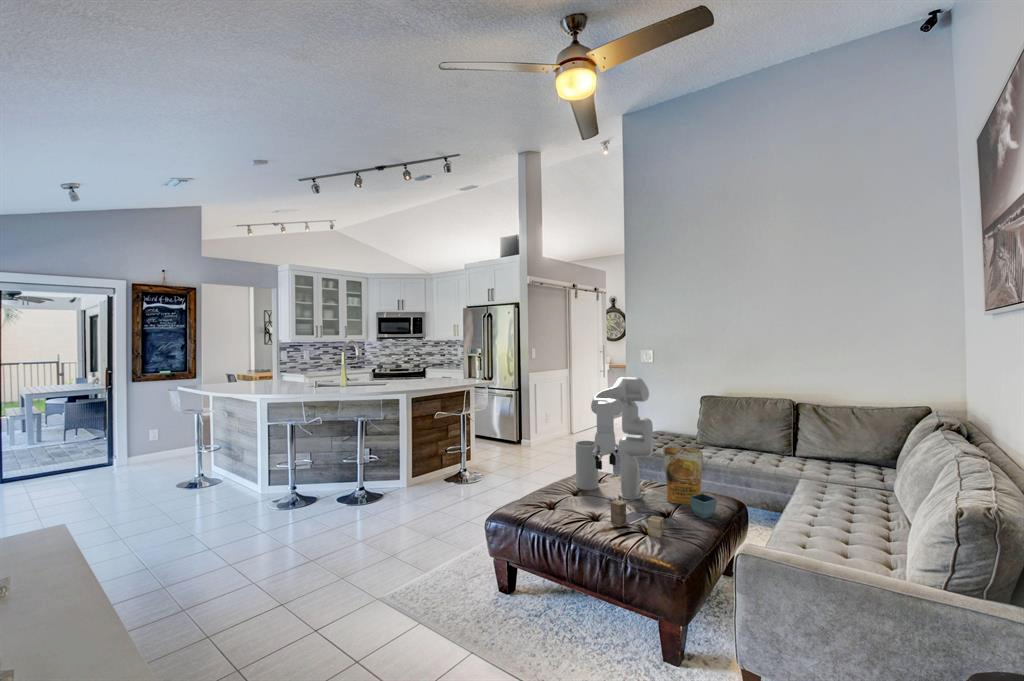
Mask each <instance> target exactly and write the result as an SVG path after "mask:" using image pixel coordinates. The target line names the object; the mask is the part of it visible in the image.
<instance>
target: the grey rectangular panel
mask: <svg viewBox="0 0 1024 681" xmlns="http://www.w3.org/2000/svg"><path fill="white" fill-rule="evenodd" d="M646 518H647V516H646V515H643V514H641V513H637V512H635V511H631V510H630V511H628V512H626V525H627V524H628V525H633V524H635V523H637V522H640V521H641V520H643V519H646Z"/></svg>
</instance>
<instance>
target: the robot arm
mask: <svg viewBox="0 0 1024 681" xmlns="http://www.w3.org/2000/svg"><path fill="white" fill-rule="evenodd" d="M649 396H650V392H649V388H648V386H647V385H646V382H645V381H644V380H643V379H642V378H640V377H633V376H632V377H631V376H621V377H618V378H617V379H616V380H615V381H614V383H613V384H612V386H611V387H610V388H607V389H603V390H601V391H599V392H597V393H596V394H595V395H594V397H592V400H591V403H590V409H591V412H592V413H593V414H596V432H595V435H594V450H593V451H592V455H593V457H594V459H595V460H596V469H598V470H600V471H601V470H603V461H602V458H603V457H604V456H607V455H609V456H608V457H609V461H608V462H609V465H612V466H617V464H616V462H617V461H616V460H617V459H616V457H617V455H618V454H617V453H618V451H619V456H620V490H619V491H618V493H617V495H618V497H619V498H622V499H624V500H629V501H630V500H631V501H634V500H635V501H636V500H640V499H642V497H643V493H642V492H641V490H644V489H645V486H644V485H640V464H639V461H638V459H637V457H640V458H641V457H642V458H649V457H651V456H652V454H653V450H654V448H653V447H654V445H653V442H654V436H653V433H654V432H653V431H654V427H653V422H652V420H651V419H650V418H648V417H642V416H641V417H640V416H639V406H638V404H637V402H640V403H641V402H646V401H648V399H649V398H650V397H649ZM620 414H621V430H622V432H623V434H624V435H625V434H626V435H631V437H630V436H623V437H621V438H620V439H619V440H618V444H617V443H616V435H615V429H614V428H615V426H614V425H615V423H614V419H615V418H614V417H615V416H618V415H620ZM632 436H634V437H632ZM635 436H640V437H635Z"/></svg>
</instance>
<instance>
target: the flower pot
mask: <svg viewBox="0 0 1024 681" xmlns="http://www.w3.org/2000/svg"><path fill="white" fill-rule="evenodd" d="M690 501H691V505H690V506H691V509H692V511H693V513H694V515H695V516H696V515H698V516H697V517H699V516H700V517H699V518H701V517H702V518H701V519H703V518H705V519H708V517H709V518H711V517H713V515H714V514H715V511H716V509H717V508H716V507H717V502H718V499H717V498H715V497H714V496H713V497H712V496H710V495H707V494H705V493H700V494H699V495H695V496H691V497H690Z"/></svg>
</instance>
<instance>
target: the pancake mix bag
mask: <svg viewBox="0 0 1024 681" xmlns="http://www.w3.org/2000/svg"><path fill="white" fill-rule="evenodd" d="M662 450H663V461H664V472H665V477H666V479H665V481H666V488H667V489H666V490H667V491H666V492H667V493H666V502H669V503H671V504H677V505H685V506H686V505H687V506H691V501H690V497H691V496H695V495H699V494H701V490H702V480H703V479H702V478H703V457H704V456H703V450H700V448H690V447H689V448H688V447H687V448H686V447H671V446H670V447H669V446H667V447H663V449H662Z"/></svg>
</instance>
